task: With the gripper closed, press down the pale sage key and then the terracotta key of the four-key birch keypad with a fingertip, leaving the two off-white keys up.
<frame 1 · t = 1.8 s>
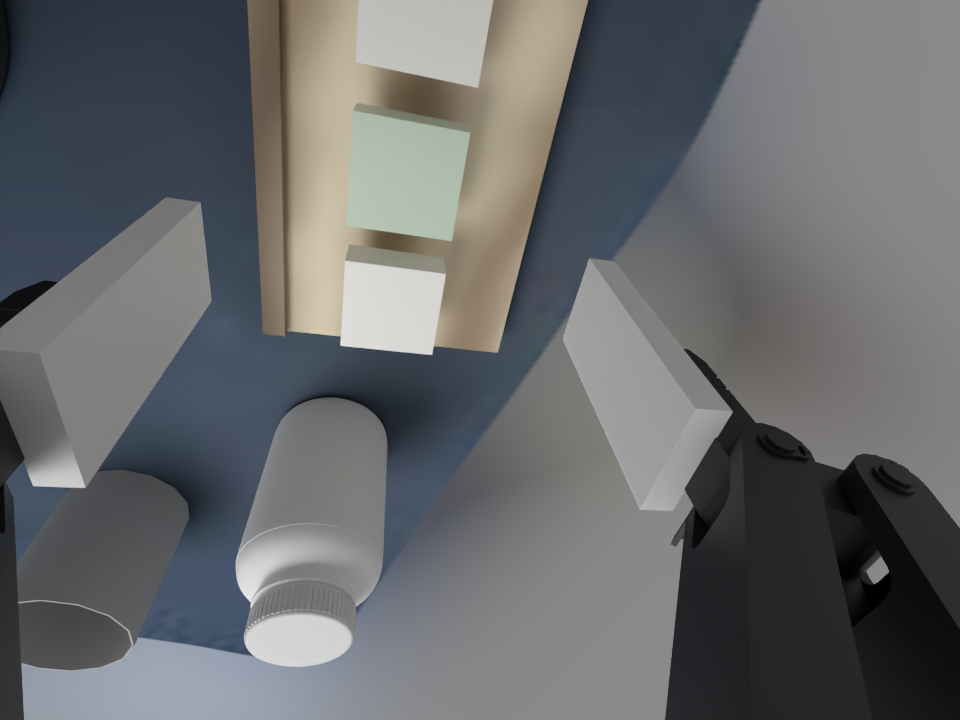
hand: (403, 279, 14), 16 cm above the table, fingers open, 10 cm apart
key white 1: (392, 301, 26), point 5 cm above the table, slide at 0.0 cm
pill bottle: (334, 433, 38), on the table
key white 2: (425, 1, 19), point 5 cm above the table, slide at 0.0 cm
key sage: (406, 174, 23), point 5 cm above the table, slide at 0.0 cm
keypad board: (414, 81, 25), on the table
cup: (131, 505, 40), on the table
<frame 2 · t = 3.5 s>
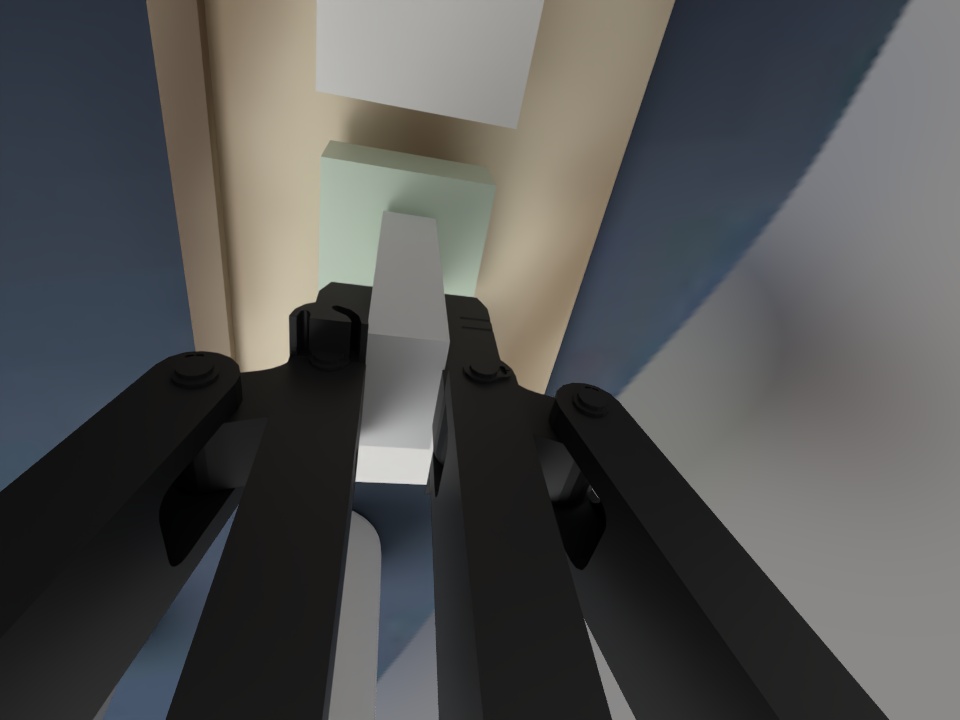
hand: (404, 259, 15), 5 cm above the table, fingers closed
key white 1: (383, 417, 19), point 5 cm above the table, slide at 0.0 cm
pill bottle: (315, 538, 30), on the table
key sage: (402, 240, 16), point 4 cm above the table, slide at -1.0 cm, touching gripper
keypad board: (413, 108, 17), on the table
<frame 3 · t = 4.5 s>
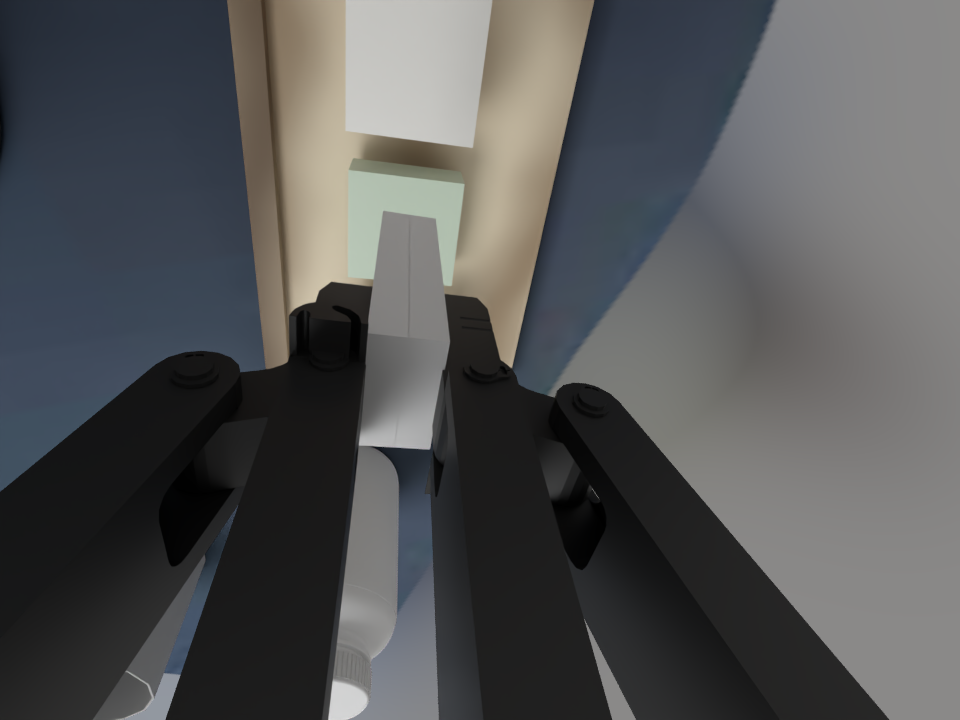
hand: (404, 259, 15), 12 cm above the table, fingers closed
pill bottle: (345, 474, 37), on the table
key white 2: (415, 65, 19), point 5 cm above the table, slide at 0.0 cm
key sage: (404, 224, 23), point 4 cm above the table, slide at -1.1 cm
keypad board: (409, 132, 24), on the table
cup: (148, 550, 40), on the table
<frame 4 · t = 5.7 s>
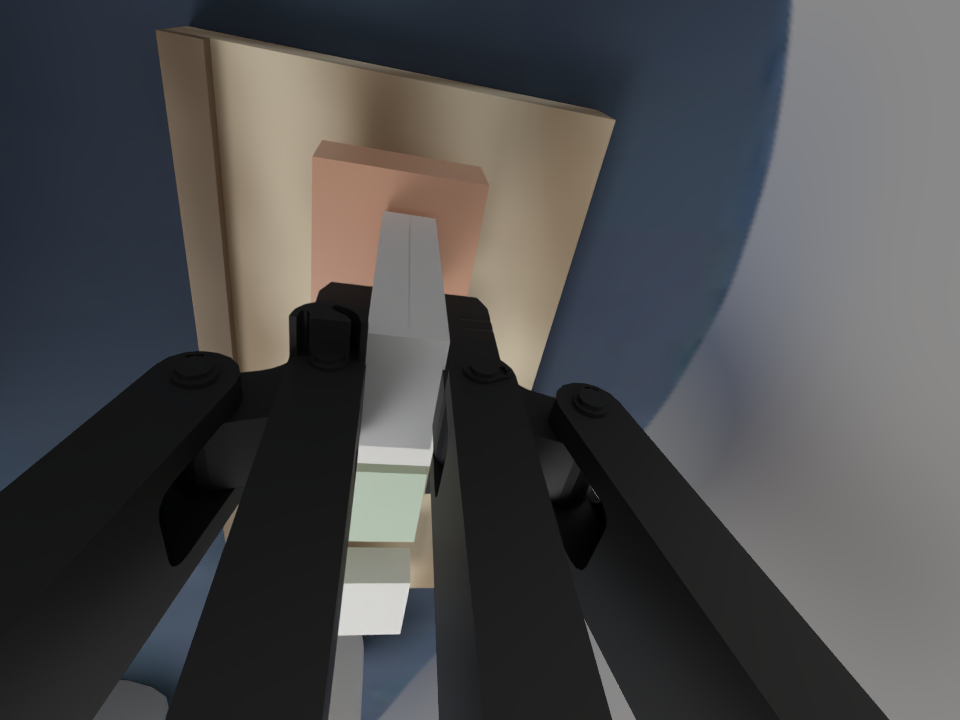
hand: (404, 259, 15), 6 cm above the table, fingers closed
key white 1: (358, 592, 27), point 5 cm above the table, slide at 0.0 cm
pill bottle: (311, 637, 38), on the table
key white 2: (379, 400, 20), point 5 cm above the table, slide at 0.0 cm
key sage: (368, 491, 24), point 4 cm above the table, slide at -1.1 cm
key terracotta: (395, 240, 16), point 5 cm above the table, slide at 0.0 cm, touching gripper
keypad board: (377, 389, 25), on the table
cup: (110, 701, 40), on the table
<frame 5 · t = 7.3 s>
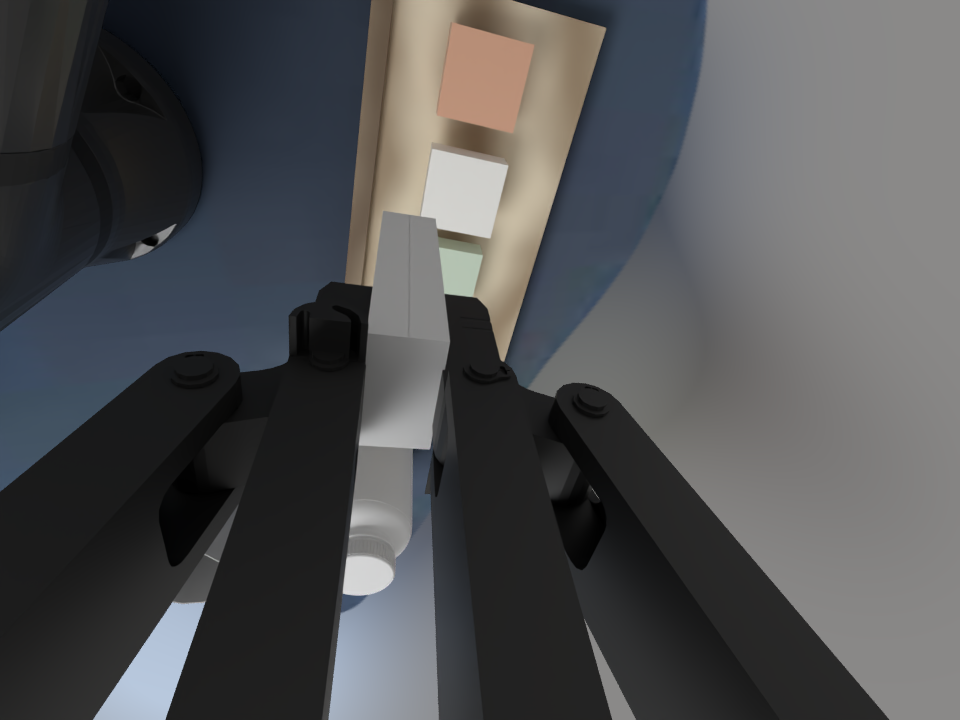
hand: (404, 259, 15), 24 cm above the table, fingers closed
pill bottle: (373, 439, 51), on the table
key white 2: (461, 191, 33), point 5 cm above the table, slide at 0.0 cm
key sage: (442, 274, 38), point 4 cm above the table, slide at -1.1 cm
key terracotta: (482, 79, 31), point 4 cm above the table, slide at -1.1 cm
keypad board: (449, 215, 39), on the table
cup: (218, 487, 53), on the table
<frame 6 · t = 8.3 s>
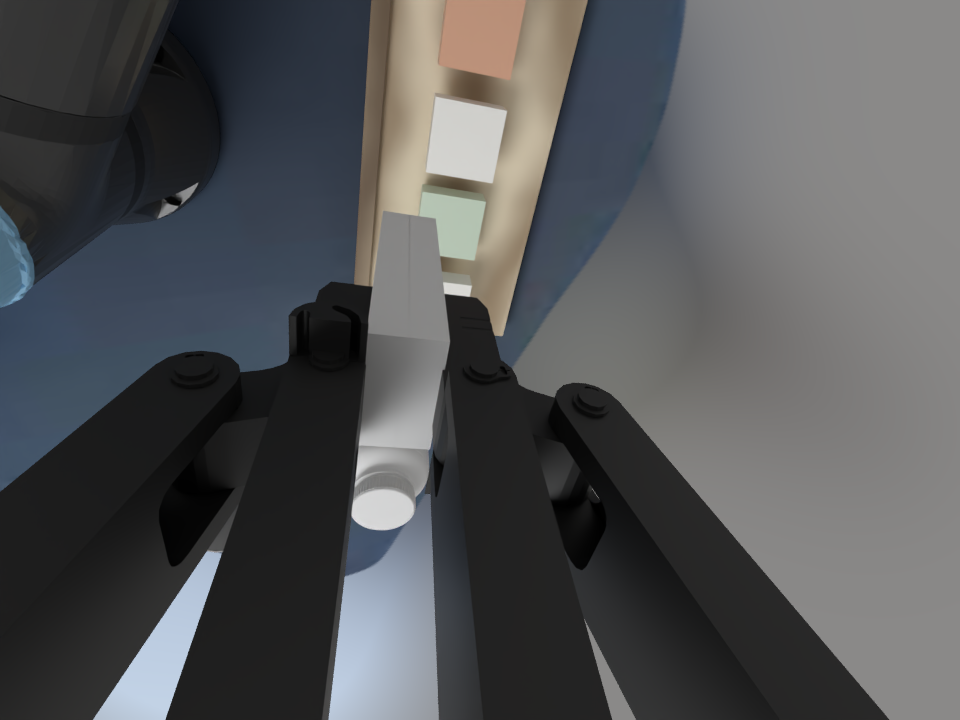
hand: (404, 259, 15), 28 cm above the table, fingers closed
key white 1: (437, 302, 43), point 5 cm above the table, slide at 0.0 cm
pill bottle: (388, 394, 54), on the table
key white 2: (464, 139, 35), point 5 cm above the table, slide at 0.0 cm
key sage: (448, 223, 40), point 4 cm above the table, slide at -1.1 cm
key terracotta: (480, 29, 33), point 4 cm above the table, slide at -1.1 cm
keypad board: (452, 168, 41), on the table
cup: (242, 447, 56), on the table
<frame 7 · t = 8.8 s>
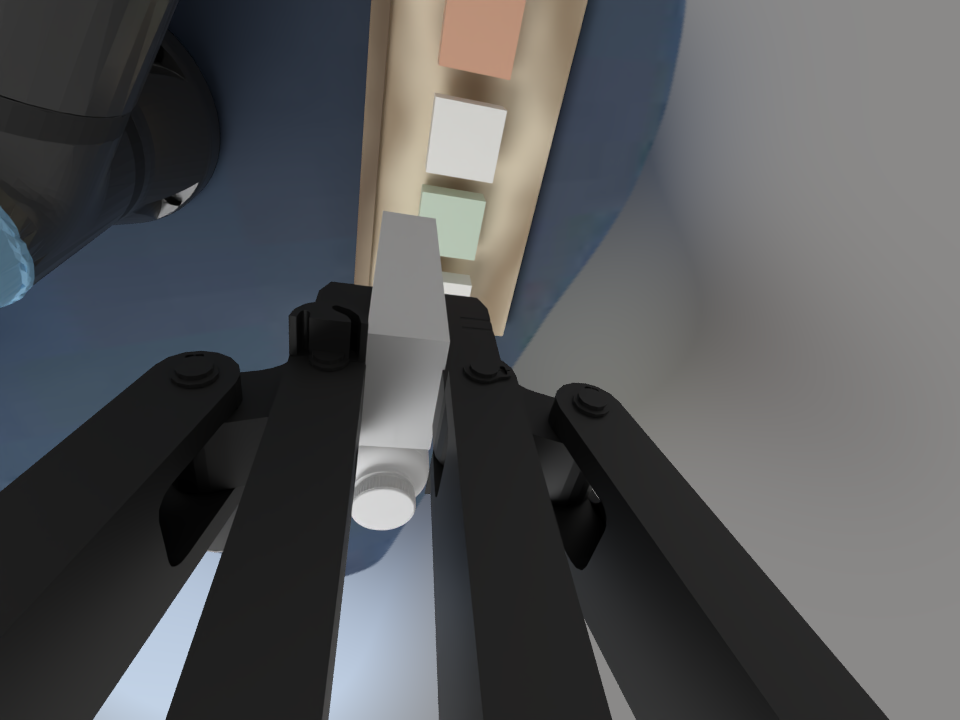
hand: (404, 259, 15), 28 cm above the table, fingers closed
key white 1: (437, 302, 43), point 5 cm above the table, slide at 0.0 cm
pill bottle: (388, 394, 54), on the table
key white 2: (464, 139, 35), point 5 cm above the table, slide at 0.0 cm
key sage: (448, 223, 40), point 4 cm above the table, slide at -1.1 cm
key terracotta: (480, 29, 33), point 4 cm above the table, slide at -1.1 cm
keypad board: (452, 168, 41), on the table
cup: (242, 447, 56), on the table
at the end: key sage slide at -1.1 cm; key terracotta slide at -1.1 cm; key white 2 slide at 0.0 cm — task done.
